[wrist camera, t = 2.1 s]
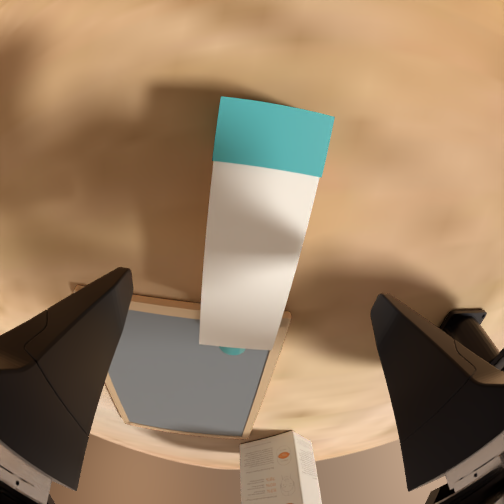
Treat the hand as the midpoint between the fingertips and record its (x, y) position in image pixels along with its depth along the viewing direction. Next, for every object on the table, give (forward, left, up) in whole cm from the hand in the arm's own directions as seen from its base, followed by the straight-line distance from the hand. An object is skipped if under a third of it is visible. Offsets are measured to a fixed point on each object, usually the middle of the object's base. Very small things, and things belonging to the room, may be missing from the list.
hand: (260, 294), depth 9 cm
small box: (-8, +31, -7) cm, 33 cm away
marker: (0, 0, -7) cm, 7 cm away
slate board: (+4, +17, -7) cm, 19 cm away
